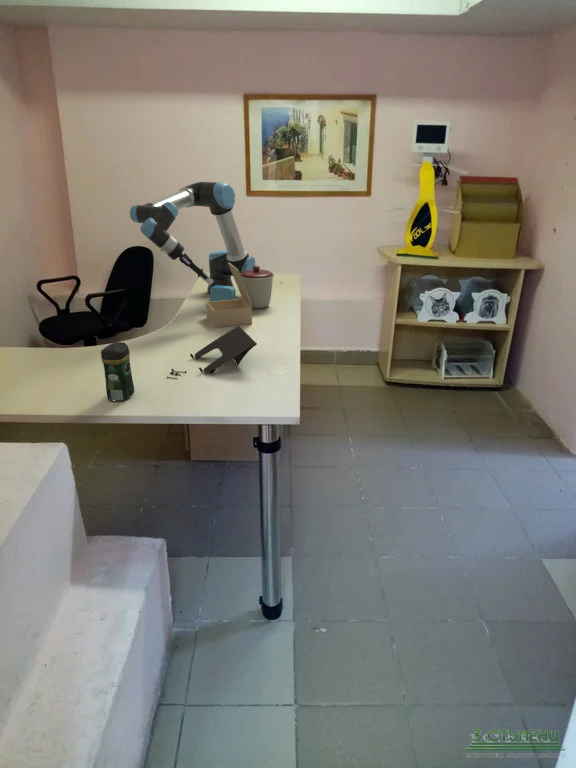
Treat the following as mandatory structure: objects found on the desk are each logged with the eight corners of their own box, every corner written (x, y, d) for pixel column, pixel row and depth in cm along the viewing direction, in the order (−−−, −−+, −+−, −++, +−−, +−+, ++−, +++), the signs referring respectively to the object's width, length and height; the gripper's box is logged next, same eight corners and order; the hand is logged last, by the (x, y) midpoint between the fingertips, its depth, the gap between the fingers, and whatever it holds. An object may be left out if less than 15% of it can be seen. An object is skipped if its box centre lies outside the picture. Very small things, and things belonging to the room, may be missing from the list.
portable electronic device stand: (199, 369, 231) (187, 351, 226) (246, 339, 233) (236, 321, 229) (213, 391, 211) (200, 372, 206) (265, 358, 214) (254, 338, 209)
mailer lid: (228, 262, 268) (229, 262, 268) (241, 297, 277) (243, 297, 277) (237, 270, 254) (238, 269, 254) (251, 306, 263) (252, 305, 263)
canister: (252, 313, 283) (252, 271, 274) (232, 305, 295) (231, 264, 287) (281, 307, 293) (281, 266, 284) (260, 299, 306) (260, 260, 297)
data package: (236, 309, 288) (235, 286, 283) (232, 312, 284) (231, 288, 279) (214, 307, 291) (213, 284, 287) (210, 310, 288) (209, 286, 283)
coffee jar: (116, 389, 197) (109, 339, 190) (137, 391, 196) (131, 340, 188) (103, 401, 188) (95, 349, 181) (125, 403, 187) (119, 350, 180)
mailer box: (206, 318, 275) (206, 301, 272) (242, 314, 280) (242, 298, 277) (214, 327, 261) (213, 310, 258) (252, 323, 267) (251, 307, 263)
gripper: (164, 251, 254) (203, 285, 266) (168, 257, 243) (209, 292, 254) (175, 239, 253) (213, 273, 265) (180, 244, 242) (220, 279, 254)
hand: (211, 282), depth 260 cm, fingers closed
